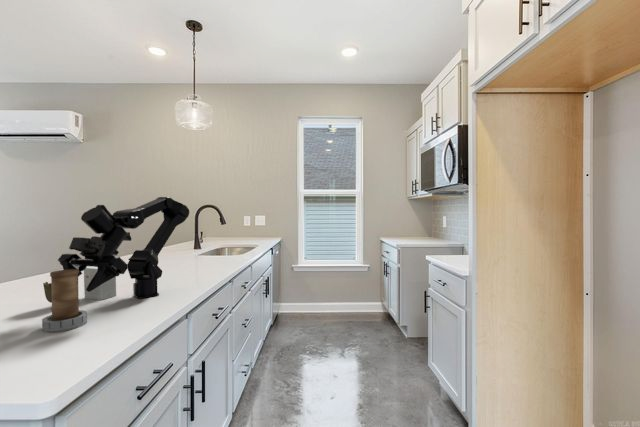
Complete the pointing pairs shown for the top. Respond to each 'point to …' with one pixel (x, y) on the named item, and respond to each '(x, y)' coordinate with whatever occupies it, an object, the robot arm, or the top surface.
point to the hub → (64, 323)
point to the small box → (101, 291)
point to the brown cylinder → (64, 294)
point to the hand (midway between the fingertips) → (73, 290)
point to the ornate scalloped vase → (48, 291)
